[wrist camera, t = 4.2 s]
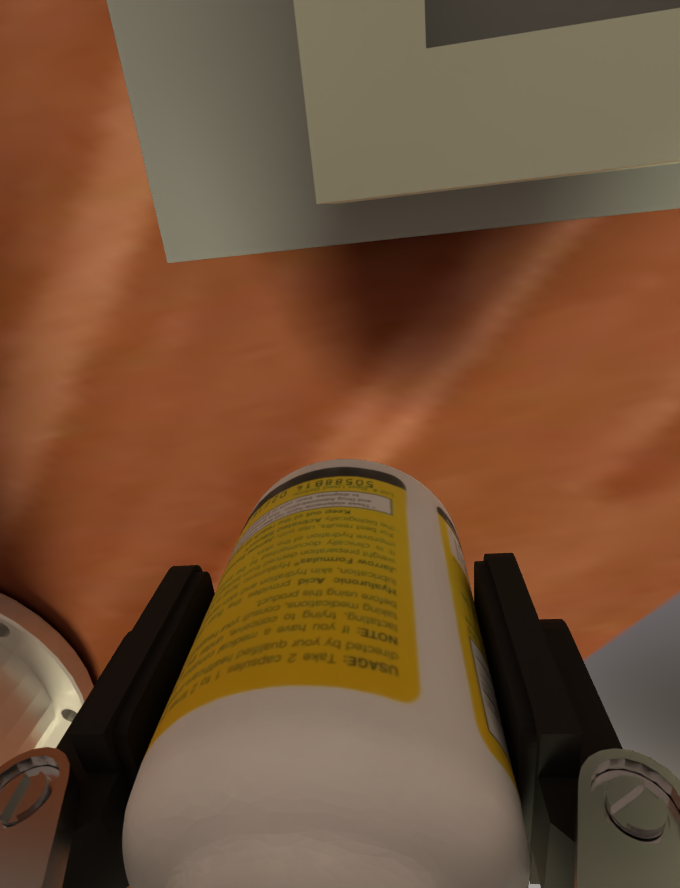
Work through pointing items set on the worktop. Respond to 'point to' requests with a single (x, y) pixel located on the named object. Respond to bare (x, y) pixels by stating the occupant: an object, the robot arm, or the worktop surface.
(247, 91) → the socket board
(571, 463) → the worktop surface
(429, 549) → the supplement bottle
